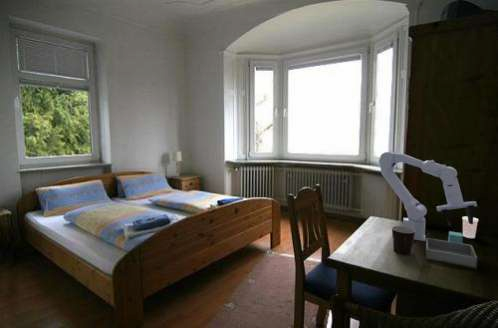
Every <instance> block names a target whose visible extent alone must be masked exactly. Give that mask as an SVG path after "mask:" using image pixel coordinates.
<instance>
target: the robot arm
mask: <svg viewBox="0 0 498 328" xmlns="http://www.w3.org/2000/svg"><path fill="white" fill-rule="evenodd" d="M378 162H379V166H380V167H379V168H380V173H381V175H382V176H383V178H384V179H385V181H386V182H387V183H388V184H389V186H390V188H391V189H392V190H393V191H394V192H395V194H396V195H397V196H398V198H399V199H400V201H401V202H402V203H403V206H404V207H403V208H404V210H405V211H406V215H407V217H403V218H402V219H403V221H402V226H405V227H409V228H412V229H414V230H415V235H414V240H415V241H421V242H426V235H425V232H426V218H425V216H426V215H427V213H428V210H427V207H426V206H425V205H424V204H422V203H420V202H419V200H417V199H416V198H415V197H414V196H413V195H412V193H410V191H409V190H408V189H407V187H406V186H405V185H404V183H403V182H402V181H401V179H400V178H399V177H398V175H397V174H396V173H395V171H394V170H395V167H396V165H397V163H399V164H400V163H403V164H408V165H409V166H414V167H417V168H419V169H421V171H422V172H423V173H425V174H429V175H432V176H433V177H437V178H439V179H440V180H441V181H442V187H443V190H444V191H443V192H444V195H445V198H446V202H447V204H443V205H438V206H436V211H437V212H439V213H441V215H442V216H443V217H444V219H445V220H446V223H447V224H448V226H449V227H450V228H451V227H453V223H452V220H451V214H450V211H449V210H455V209H456V210H457V209H463V208H464V210H465V213H466V216H467V217H468V221H469V223H470V224H473V217H474V215H475V213H476V209H477V208H476V207H478V204H477V201H464V199H463V195H462V191H461V187H460V183H459V180H458V177H457V176H458V172H457V170H456V169H455V167H452V166H450V165H449V166H447V165H446V164H440V163H437V162H435V160H434V159H431V160H428V159H427V160H425V161H423V160H421V159H418V158H415V157H413V156H411V155H408V154H405V153H402V152H398V151H395V150H390V151H385V152H383V153H381V154H380V157H379V160H378ZM414 240H413V241H414Z"/></svg>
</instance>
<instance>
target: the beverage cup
mask: <svg viewBox="0 0 498 328" xmlns="http://www.w3.org/2000/svg"><path fill="white" fill-rule="evenodd" d="M461 219H462V236H463V237H465V238H467V239H475V238H476V234H477V229H478V228H477V226H478V223H479V219H478V218H476V217H474V216H473V224H470V223H469V221H468V216H467V215H466V216H462V217H461Z"/></svg>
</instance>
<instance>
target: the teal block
mask: <svg viewBox="0 0 498 328" xmlns="http://www.w3.org/2000/svg"><path fill="white" fill-rule="evenodd" d="M463 237H464V236H463V232H455V231H450V230H449V231H448V237H447V239H448V240H447V241H449V242H455V243H462V244H463V239H464V238H463Z"/></svg>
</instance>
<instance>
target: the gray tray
mask: <svg viewBox="0 0 498 328" xmlns="http://www.w3.org/2000/svg"><path fill="white" fill-rule="evenodd" d="M478 259H479V258H478V256H477V254H476V251H475V249H474V247H473V245H472V244H467V243H463V242H462V243H455V242H449V241H448V240H444V239H443V240H442V239H436V238H430V237H425V260H430V261H435V262H440V263H444V264H445V263H446V264H450V265H456V266H461V267H466V268H470V269H471V268H472V269H477V268H478Z"/></svg>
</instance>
